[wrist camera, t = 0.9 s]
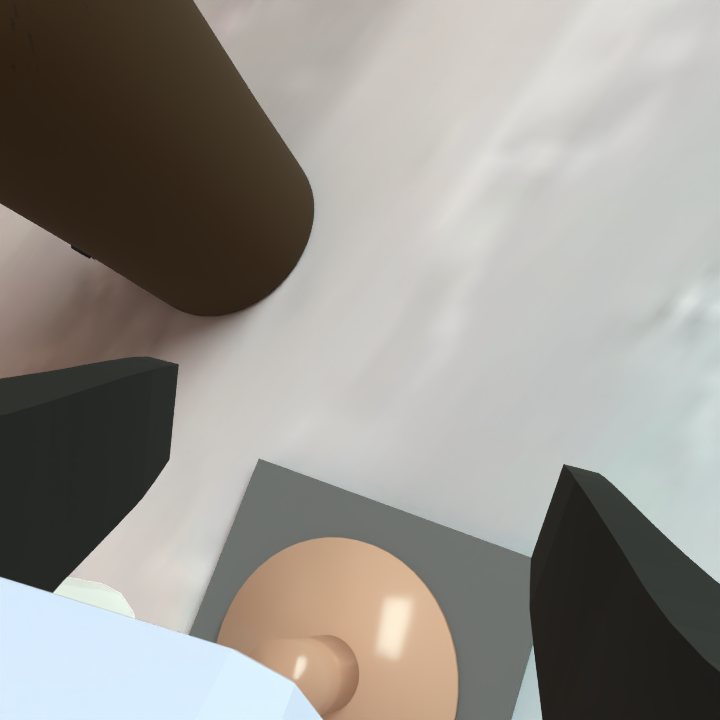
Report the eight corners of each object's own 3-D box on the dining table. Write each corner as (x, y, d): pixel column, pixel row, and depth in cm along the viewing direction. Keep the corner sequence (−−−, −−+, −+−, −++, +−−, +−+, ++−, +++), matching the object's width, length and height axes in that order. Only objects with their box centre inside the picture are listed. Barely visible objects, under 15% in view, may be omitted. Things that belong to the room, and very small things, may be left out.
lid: (407, 885, 20) (356, 951, 16) (184, 743, 24) (100, 769, 20) (495, 592, 22) (468, 589, 18) (275, 506, 26) (214, 488, 22)
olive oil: (333, 121, 32) (-261, -894, 10) (322, 317, 29) (-622, -606, 7) (155, 162, 36) (-567, -531, 14) (125, 340, 32) (-910, -216, 10)
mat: (443, 957, 20) (436, 970, 19) (150, 761, 25) (137, 765, 24) (554, 567, 22) (552, 565, 21) (268, 462, 27) (258, 458, 27)
